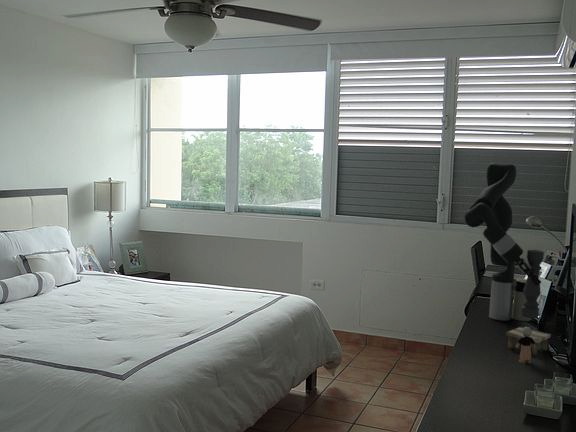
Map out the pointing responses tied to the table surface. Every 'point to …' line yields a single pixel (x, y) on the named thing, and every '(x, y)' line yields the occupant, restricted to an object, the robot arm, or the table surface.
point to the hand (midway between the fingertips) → (538, 282)
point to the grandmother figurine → (526, 345)
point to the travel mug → (519, 300)
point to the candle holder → (532, 285)
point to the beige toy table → (535, 336)
